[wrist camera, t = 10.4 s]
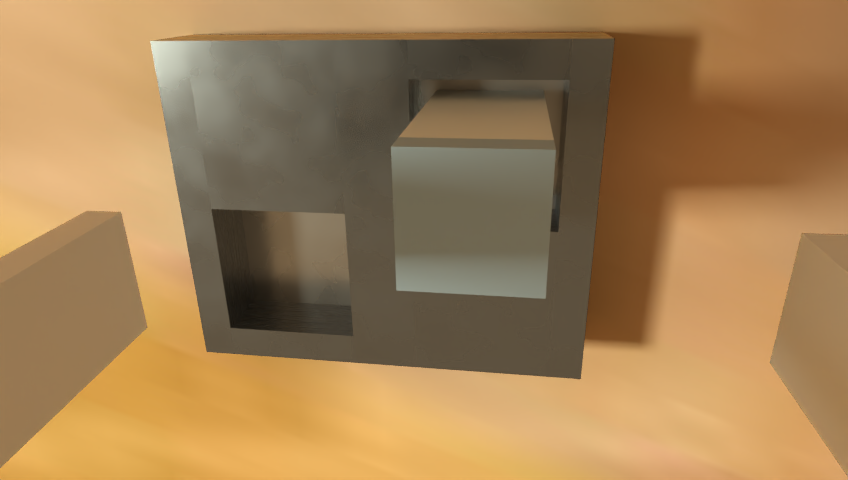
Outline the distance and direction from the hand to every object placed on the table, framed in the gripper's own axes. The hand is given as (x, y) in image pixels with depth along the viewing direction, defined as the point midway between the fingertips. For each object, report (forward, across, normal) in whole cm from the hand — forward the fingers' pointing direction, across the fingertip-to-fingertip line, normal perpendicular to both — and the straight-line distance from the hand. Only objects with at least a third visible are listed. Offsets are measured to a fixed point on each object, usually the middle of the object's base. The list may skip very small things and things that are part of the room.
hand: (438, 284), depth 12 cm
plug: (+13, +1, 0) cm, 13 cm away
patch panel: (+13, -3, -3) cm, 14 cm away
